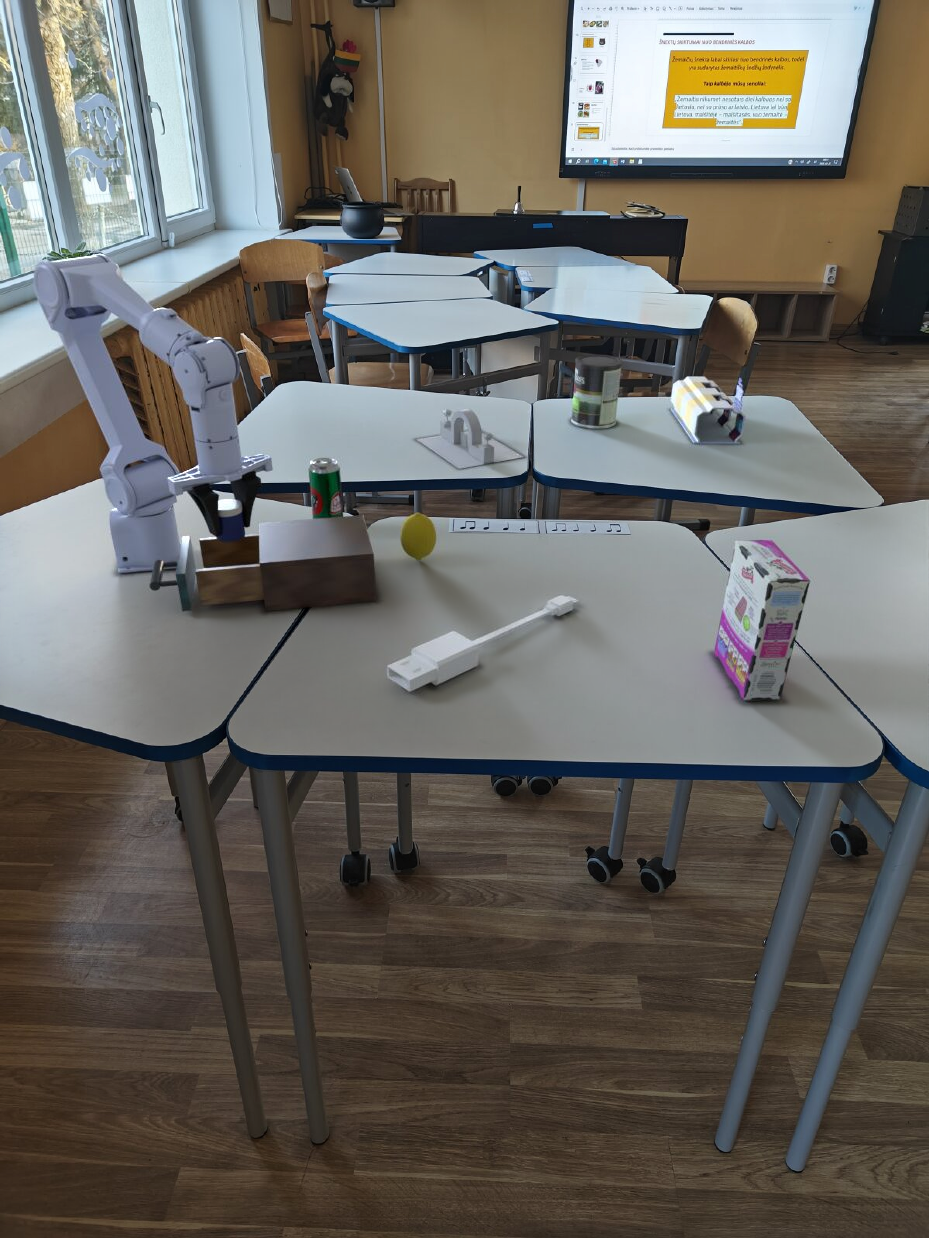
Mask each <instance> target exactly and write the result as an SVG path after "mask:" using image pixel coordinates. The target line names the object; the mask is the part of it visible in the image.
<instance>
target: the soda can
mask: <svg viewBox="0 0 929 1238" xmlns="http://www.w3.org/2000/svg"><path fill="white" fill-rule="evenodd" d="M308 478H309V479H308V480H309V490H310V502H311V516H312V519H319V518H332V517H344V505H343V493H342V479H341V467H340V465H339V464H338V461H337V460H336V459H334V458H331V457H318V458H315V459H312V460H311V461H310V465H309V467H308Z"/></svg>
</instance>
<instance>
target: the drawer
mask: <svg viewBox="0 0 929 1238" xmlns="http://www.w3.org/2000/svg"><path fill="white" fill-rule="evenodd" d="M198 539H199V540H198V542H199V548H200V553H201V560H202V565H203V566H202V567H203V568H197V567H196V560H195V555H194V549H193V544H192V538H191V535H182V536H181V539H180V544H181V545H180V551H179V557H178V561H176V562H163V561H162V560H156V561H155V563H154V567H153V570H152V572H151V577H150V582H149V589H150V590H152V591H154V592H156V591H159V590H160V589H161V588H165V587H166V588H167V587H175V586H177V589H178V595H179V601H180V606H181V611H182V612H191V611H192V608H193V601H194V599H193V598H194V591H195V582H196V585H197V590H198V595H199V602H200V606H209V605H219V604H220V605H221V604H231V603H232V604H233V603H241V602H243V603H244V602H253V601H254V602H255V601H263V600H264V594H263V586H262V578H261V570H260V554H259V533H250V534H245V537H244V538H242V539H240V540H238V541H233V542H223V541H219V540H218V539H217V538H216V536H212V537H200V538H198ZM167 567H177V568H175V580H174V579H173V580H163V576H164V575H163V574H164V570H165V569H164V568H167Z"/></svg>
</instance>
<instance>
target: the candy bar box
mask: <svg viewBox="0 0 929 1238" xmlns="http://www.w3.org/2000/svg"><path fill="white" fill-rule="evenodd" d="M730 564H731V565H730V569H729V574H728V579H727V584H726V589H725V594H724V598H723V599H724V600H723V605H722V609H721V615H720V620H719V624H718V630H717V636H716V639H715V645H714V651H713V654H714V656H715V658H716V659H717V660H718V662H719V663H720V665H721V667H722V669H723V670H724V671H725V673H726V674H727V677H728V678H729V679H730V681H731V682H732V684H733V686H734V687H735V689H736V691H737V692H738V694H739V695H740V698H741V699H742V700H743V701H745V702H751V701H752V702H753V701H754V702H755V701H779V700H781V699H782V695H783V691H784V687H785V683H786V677H787V675H788V670H789V666H790V662H791V658H792V656H793V655H792V654H793V650H794V647H795V642H796V638H797V635H798V631H799V626H800V623H801V620H802V615H803V610H804V607H805V604H806V599H807V596H808V591H809V588H810V584H811V579H809V578H808V577H807V576H806V575H805V573H804V572H803V571H801V569H800V568H799V567H798V566H797V565H796V564H795V563H794V561H792V560H791V559H790V558H789V557H788V556H787V554H786V553H785V552H784V551H783V550H782V549H781V548H780V547H779V546H778V545H777V544H776V543H775V541H774V540H772V539H754V540H753V539H752V540H735V542H734V549H733V553H732V559H731V563H730Z"/></svg>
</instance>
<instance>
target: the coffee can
mask: <svg viewBox="0 0 929 1238" xmlns="http://www.w3.org/2000/svg"><path fill="white" fill-rule="evenodd" d="M622 366H623V360H622V359H621V358H619V357H617V356H613V355H607V354H598V353H597V354H596V353H595V354H583V355H580V356H578V357H575V369H574V370H575V371H574V384H573V386H574V387H573V397H572V410H571V419H570V421H571V423H572V424H573V425H574V426H577V427H580V428H585V429H590V430H592V429H593V430H602V429H609V428H612V427H614V426H615V425H616V424H617V422H616V420H617V411H618V401H619V391H620V382H621V373H622Z"/></svg>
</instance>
